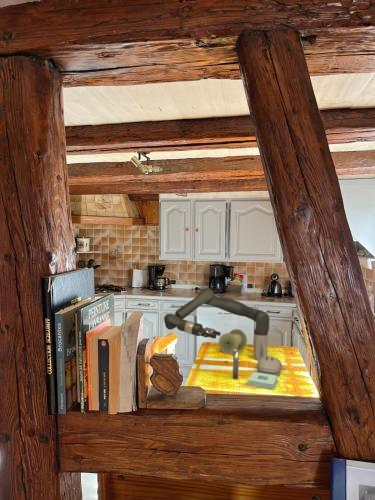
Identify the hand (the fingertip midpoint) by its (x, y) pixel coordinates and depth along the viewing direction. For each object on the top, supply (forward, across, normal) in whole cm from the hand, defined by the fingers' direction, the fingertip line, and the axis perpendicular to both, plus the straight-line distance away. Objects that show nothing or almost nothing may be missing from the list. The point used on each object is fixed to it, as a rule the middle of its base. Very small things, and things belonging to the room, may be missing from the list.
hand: (218, 335), depth 201 cm
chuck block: (+30, +2, +20) cm, 36 cm away
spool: (-1, +51, +22) cm, 56 cm away
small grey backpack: (+30, +22, +19) cm, 42 cm away
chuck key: (+14, +2, +22) cm, 27 cm away
